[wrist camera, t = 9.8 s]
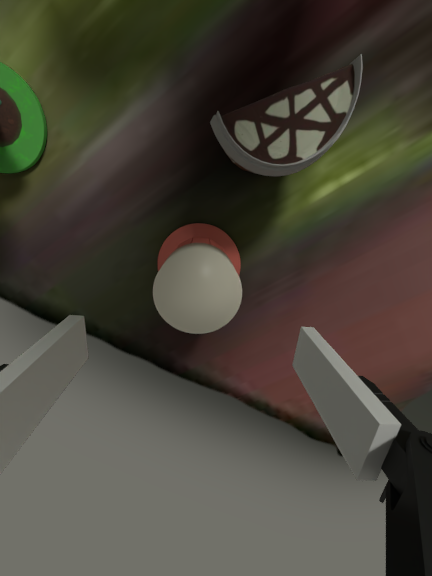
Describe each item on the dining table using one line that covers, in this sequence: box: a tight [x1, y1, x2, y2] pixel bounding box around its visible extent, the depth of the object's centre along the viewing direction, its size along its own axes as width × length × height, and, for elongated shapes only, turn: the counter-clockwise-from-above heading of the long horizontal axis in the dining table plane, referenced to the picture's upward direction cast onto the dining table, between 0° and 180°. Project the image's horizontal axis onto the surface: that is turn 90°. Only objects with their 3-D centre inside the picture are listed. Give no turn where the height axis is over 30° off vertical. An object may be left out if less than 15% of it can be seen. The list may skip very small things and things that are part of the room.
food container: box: [210, 54, 362, 176], centre depth 23 cm, size 12×6×10 cm, turn 109°
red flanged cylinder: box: [158, 223, 241, 276], centre depth 29 cm, size 11×11×7 cm
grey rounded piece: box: [153, 243, 242, 334], centre depth 24 cm, size 8×8×7 cm
